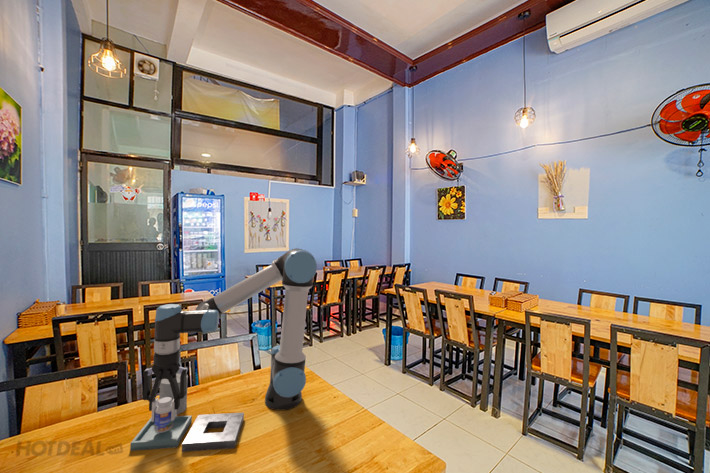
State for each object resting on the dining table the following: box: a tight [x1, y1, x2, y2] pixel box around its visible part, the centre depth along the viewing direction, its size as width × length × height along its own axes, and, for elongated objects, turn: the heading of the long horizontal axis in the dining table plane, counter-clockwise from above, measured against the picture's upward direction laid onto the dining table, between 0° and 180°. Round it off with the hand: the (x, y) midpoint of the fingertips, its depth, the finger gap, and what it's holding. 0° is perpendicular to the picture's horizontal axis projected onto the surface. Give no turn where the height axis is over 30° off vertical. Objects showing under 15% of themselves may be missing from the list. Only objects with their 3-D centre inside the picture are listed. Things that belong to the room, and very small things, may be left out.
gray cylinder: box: [158, 372, 189, 416], centre depth 121 cm, size 10×10×12 cm
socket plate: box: [181, 412, 245, 453], centre depth 107 cm, size 16×16×2 cm
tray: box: [129, 415, 193, 452], centre depth 105 cm, size 14×14×2 cm
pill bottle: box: [154, 397, 173, 433], centre depth 105 cm, size 5×5×10 cm
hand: (164, 418), depth 105 cm, fingers closed on pill bottle, 5 cm apart
